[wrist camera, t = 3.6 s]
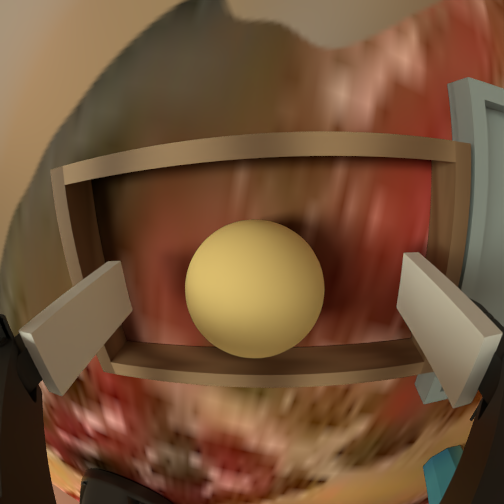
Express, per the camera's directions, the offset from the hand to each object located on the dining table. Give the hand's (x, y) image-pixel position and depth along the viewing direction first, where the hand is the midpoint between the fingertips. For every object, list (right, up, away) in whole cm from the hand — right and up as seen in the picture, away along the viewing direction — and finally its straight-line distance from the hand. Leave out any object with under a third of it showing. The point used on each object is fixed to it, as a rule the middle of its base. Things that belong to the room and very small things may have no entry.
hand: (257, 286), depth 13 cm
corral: (0, +1, +3) cm, 3 cm away
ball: (0, +1, +3) cm, 3 cm away
